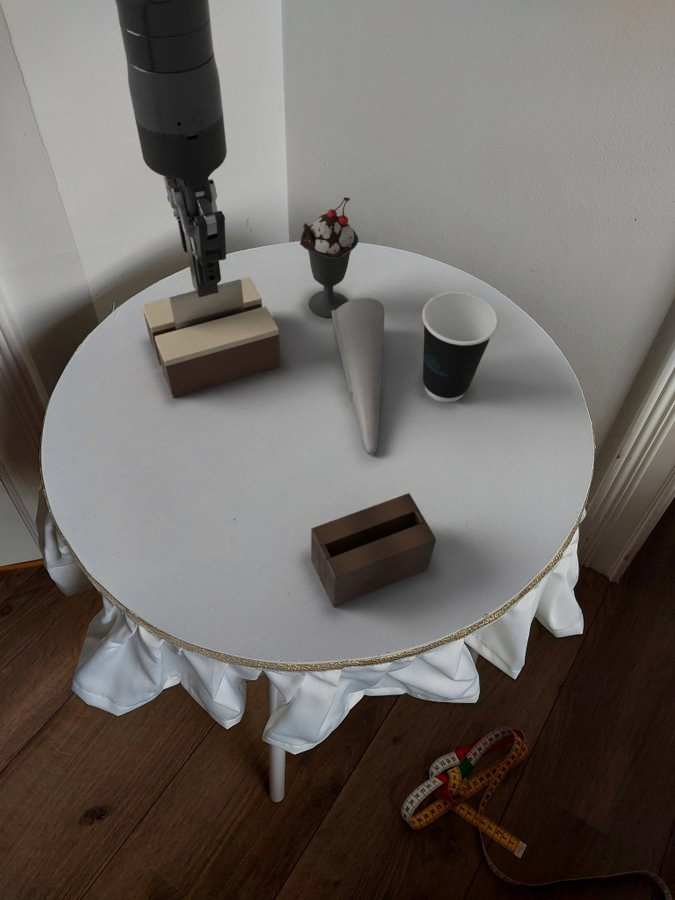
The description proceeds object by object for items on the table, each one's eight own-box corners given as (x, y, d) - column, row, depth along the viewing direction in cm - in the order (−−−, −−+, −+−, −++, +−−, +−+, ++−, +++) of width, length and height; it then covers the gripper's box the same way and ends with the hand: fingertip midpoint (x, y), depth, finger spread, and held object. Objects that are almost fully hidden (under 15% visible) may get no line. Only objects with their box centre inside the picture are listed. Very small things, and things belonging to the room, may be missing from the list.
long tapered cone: (423, 429, 75) (384, 293, 85) (363, 441, 75) (330, 303, 84) (422, 456, 80) (384, 324, 90) (365, 468, 80) (334, 334, 89)
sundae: (364, 299, 93) (372, 196, 81) (336, 329, 89) (339, 227, 77) (321, 280, 95) (322, 177, 83) (291, 309, 91) (289, 205, 79)
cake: (173, 398, 82) (164, 361, 77) (150, 342, 87) (141, 304, 82) (280, 366, 85) (278, 329, 81) (252, 314, 91) (249, 276, 86)
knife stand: (333, 607, 67) (335, 578, 62) (311, 559, 70) (311, 528, 65) (428, 569, 70) (436, 538, 65) (402, 525, 73) (409, 492, 68)
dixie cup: (483, 370, 86) (503, 299, 77) (472, 419, 81) (492, 350, 73) (418, 355, 87) (430, 284, 78) (404, 403, 82) (415, 333, 74)
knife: (185, 369, 85) (160, 242, 70) (180, 357, 86) (153, 229, 71) (250, 351, 87) (238, 223, 72) (244, 339, 88) (231, 211, 73)
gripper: (114, 76, 65) (148, 234, 79) (157, 159, 57) (187, 319, 71) (195, 62, 67) (214, 218, 81) (247, 141, 59) (259, 300, 73)
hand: (201, 265), depth 76 cm, fingers open, 5 cm apart
